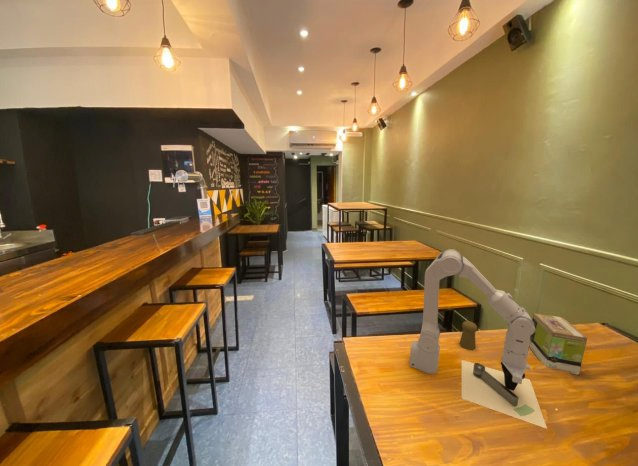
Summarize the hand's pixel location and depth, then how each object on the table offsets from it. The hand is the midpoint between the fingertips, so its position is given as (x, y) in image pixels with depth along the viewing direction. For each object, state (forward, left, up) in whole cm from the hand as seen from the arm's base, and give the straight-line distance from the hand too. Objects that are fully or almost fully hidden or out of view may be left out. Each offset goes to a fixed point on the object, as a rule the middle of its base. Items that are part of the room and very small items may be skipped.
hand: (509, 388), depth 79 cm
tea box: (+17, +29, -3) cm, 34 cm away
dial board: (-3, 0, -2) cm, 4 cm away
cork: (-11, +21, -3) cm, 24 cm away
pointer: (-4, 0, -1) cm, 4 cm away
